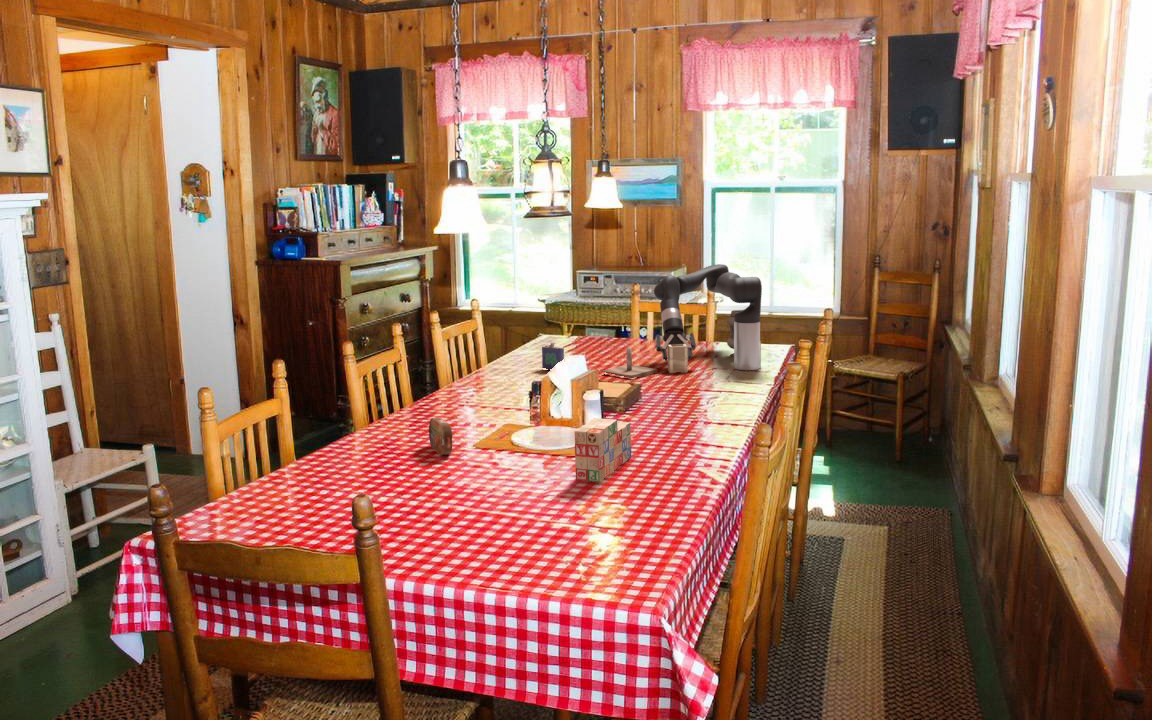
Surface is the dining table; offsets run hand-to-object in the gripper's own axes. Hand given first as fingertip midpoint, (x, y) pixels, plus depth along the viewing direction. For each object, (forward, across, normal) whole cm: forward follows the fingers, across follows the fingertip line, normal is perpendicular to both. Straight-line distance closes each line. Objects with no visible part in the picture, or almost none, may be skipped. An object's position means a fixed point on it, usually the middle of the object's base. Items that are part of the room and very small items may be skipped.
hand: (677, 359), depth 337 cm
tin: (+65, +79, +59) cm, 118 cm away
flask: (-5, +45, -12) cm, 47 cm away
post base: (+3, +18, -3) cm, 18 cm away
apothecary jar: (-13, -30, -20) cm, 38 cm away
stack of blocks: (+81, +38, +74) cm, 116 cm away
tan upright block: (+3, 0, -4) cm, 5 cm away
